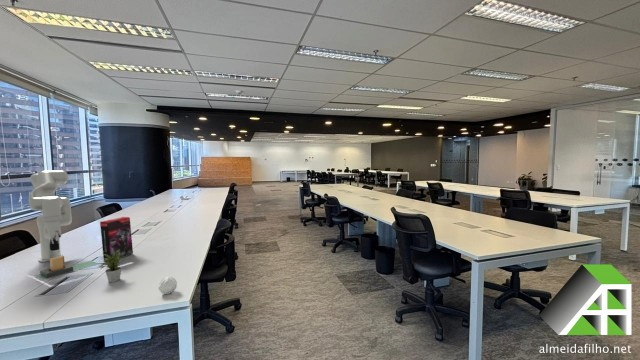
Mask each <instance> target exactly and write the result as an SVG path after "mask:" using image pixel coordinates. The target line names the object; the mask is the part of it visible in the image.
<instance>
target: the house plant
mask: <svg viewBox="0 0 640 360" xmlns="http://www.w3.org/2000/svg"><path fill="white" fill-rule="evenodd" d="M118 251H119V250H118ZM118 251H117V252H116V253H115V252H114V253H113V257H112V258H111V257H110V256H109V255H107V254H104V255H105V256H106V257H107V259H105V260H104V258H103V257H102V260H103V262H101V263H99V264H97V266H100V265H101V266H100V267H99V269H100V270H102V269H103V268H105V267H106V268H107V267H108V268H107V269H105V274H106V277H107V281H108V283H114V282H115V283H116V282H118V281H121V280H120V279H121V274H122V267H121V266H120V264H121V263H122V261H121V262H120V260H121V259H122V258H123V257H119V255H120V253H119V254H118ZM117 254H118V257H117ZM121 254H122V253H121ZM120 256H121V255H120ZM116 257H117V258H116ZM124 261H126V259H125V260H123V262H124Z"/></svg>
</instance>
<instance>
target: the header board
mask: <svg viewBox="0 0 640 360" xmlns="http://www.w3.org/2000/svg"><path fill="white" fill-rule="evenodd" d="M98 265H100V264H99V263H98V262H97V261H96V262H95V261H93V260H87V261H84V262H79V263H76V264H72V265H69V264H66V263H65V267H64V268H62V269H58V270H54V271H51V269H50V268H46V269H42V270H39V271H40V272H39V273H38V274H35V276H36V277H38V278H40V279H42V280H47V279H49V278H54V277H57V276H61V275H65V274H69V273H72V272H76V271H78V270H81V269H85V268H90V267H93V266H98Z"/></svg>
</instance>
